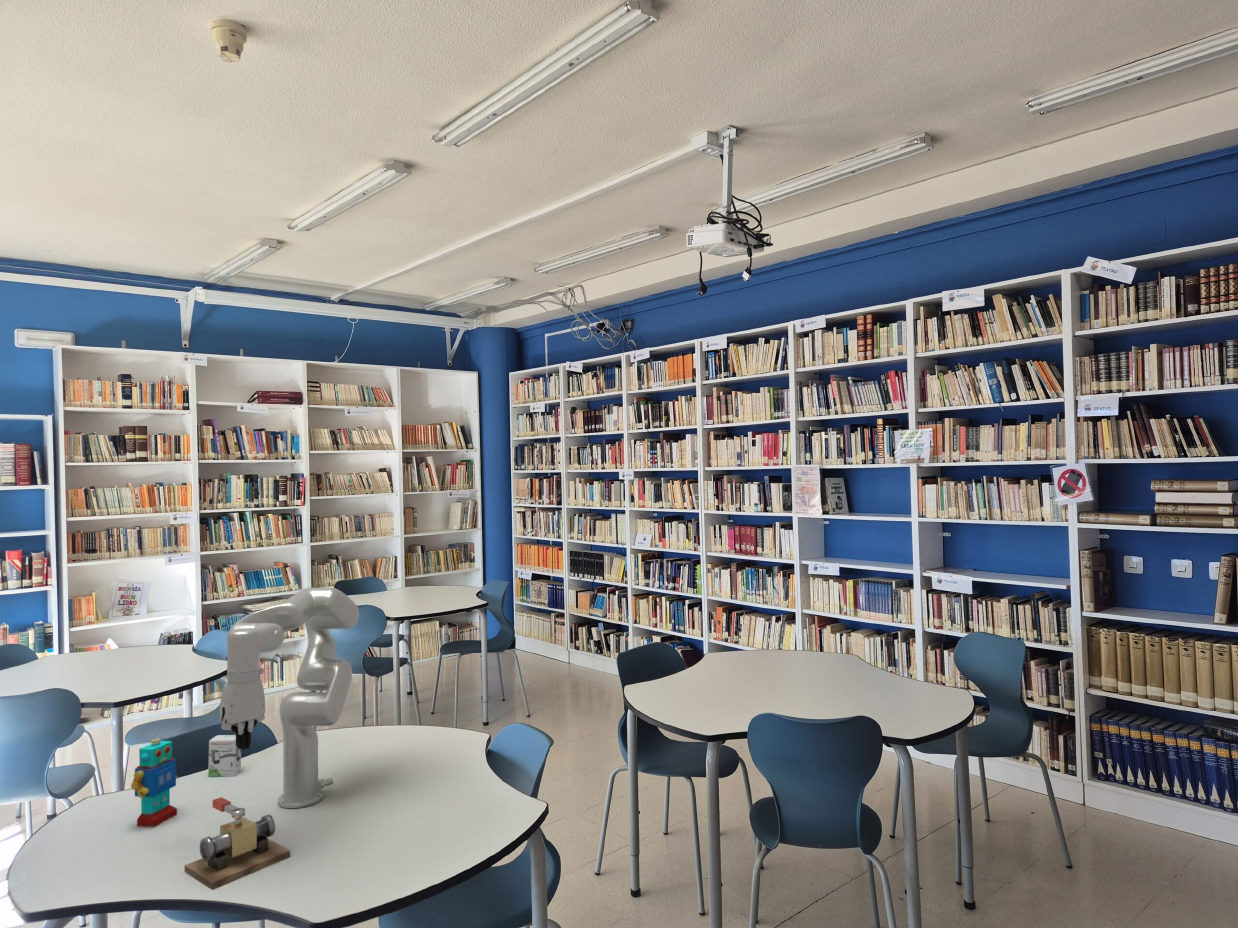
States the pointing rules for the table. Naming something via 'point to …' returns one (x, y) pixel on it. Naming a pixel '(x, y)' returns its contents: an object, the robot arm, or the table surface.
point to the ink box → (224, 756)
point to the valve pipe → (237, 840)
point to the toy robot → (155, 782)
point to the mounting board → (236, 865)
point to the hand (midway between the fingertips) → (243, 747)
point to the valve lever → (228, 807)
